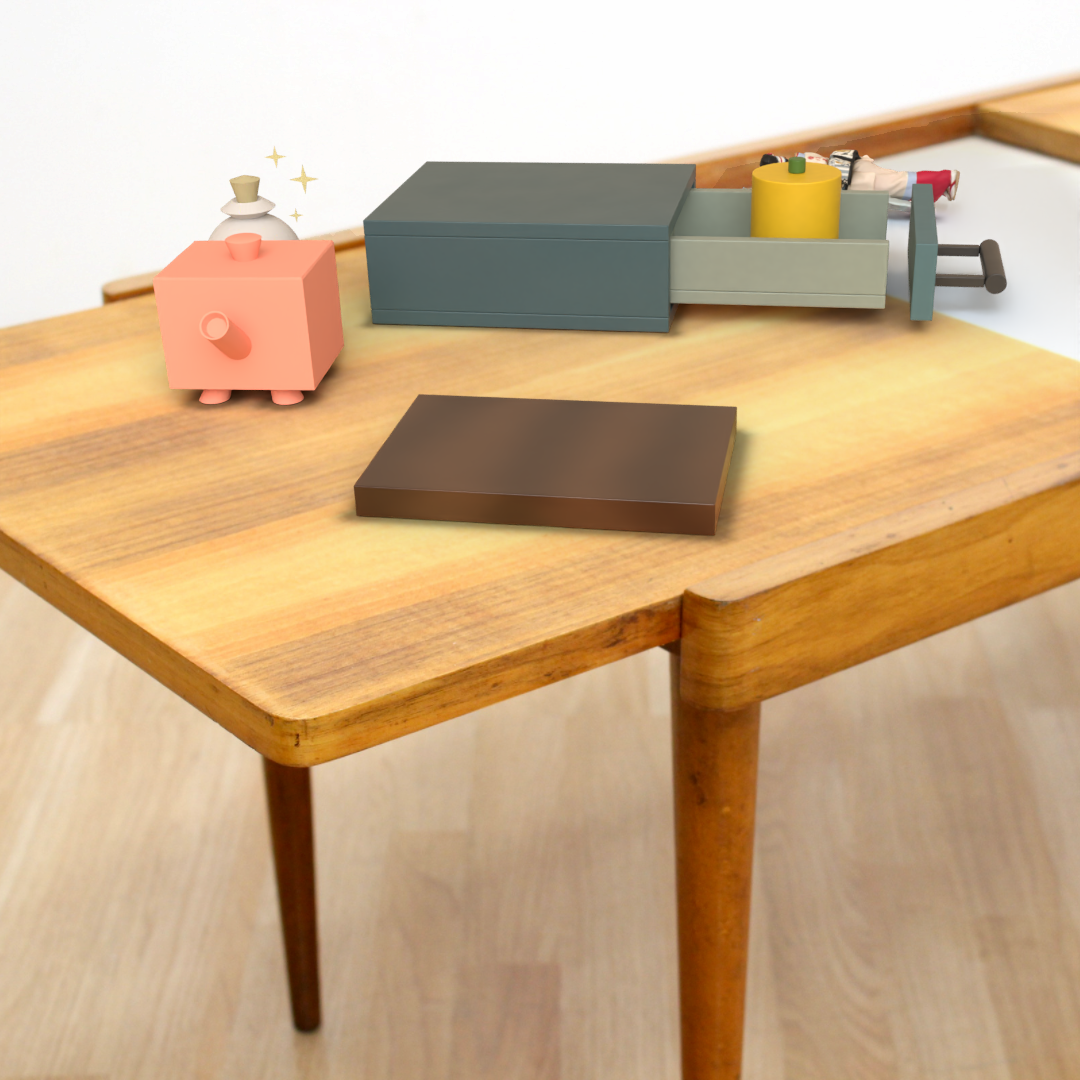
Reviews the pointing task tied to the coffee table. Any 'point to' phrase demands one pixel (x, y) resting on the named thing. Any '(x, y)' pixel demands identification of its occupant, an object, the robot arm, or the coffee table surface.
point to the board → (554, 464)
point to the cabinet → (528, 245)
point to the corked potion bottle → (254, 210)
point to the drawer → (814, 256)
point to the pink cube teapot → (250, 316)
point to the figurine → (879, 176)
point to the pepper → (796, 200)
